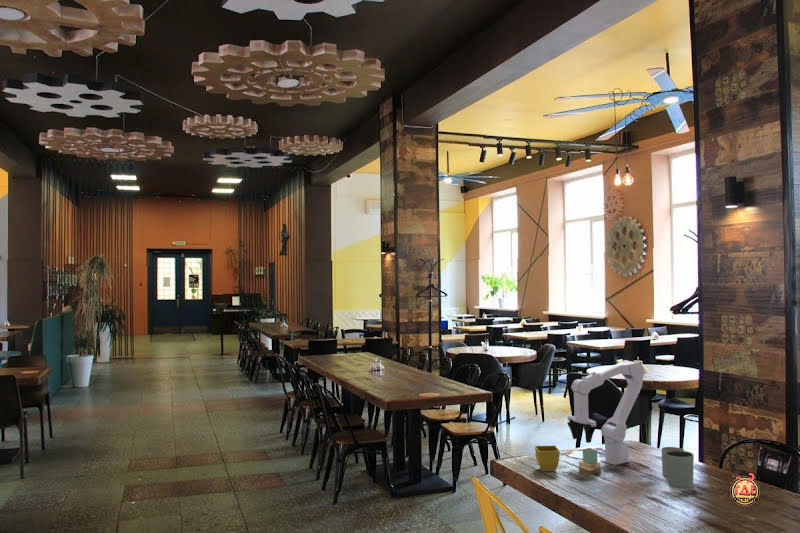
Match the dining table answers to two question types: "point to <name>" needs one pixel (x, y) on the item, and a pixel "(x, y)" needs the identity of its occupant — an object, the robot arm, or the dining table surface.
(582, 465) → the oak slab
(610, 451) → the robot arm
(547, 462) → the flower pot
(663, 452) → the cup
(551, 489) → the dining table surface
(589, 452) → the teal block
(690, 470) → the grey-green embossed container
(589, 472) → the walnut slab
